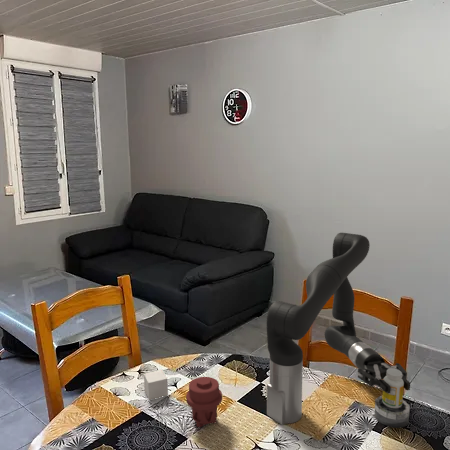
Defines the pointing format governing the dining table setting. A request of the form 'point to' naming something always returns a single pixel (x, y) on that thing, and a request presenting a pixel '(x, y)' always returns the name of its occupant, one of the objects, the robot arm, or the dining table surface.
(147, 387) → the grey cube
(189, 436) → the dining table surface
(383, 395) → the supplement bottle
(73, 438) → the dining table surface
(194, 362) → the dining table surface
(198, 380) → the mechanical component
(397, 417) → the collar
